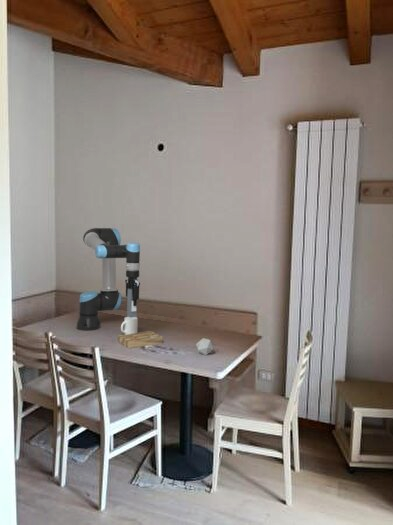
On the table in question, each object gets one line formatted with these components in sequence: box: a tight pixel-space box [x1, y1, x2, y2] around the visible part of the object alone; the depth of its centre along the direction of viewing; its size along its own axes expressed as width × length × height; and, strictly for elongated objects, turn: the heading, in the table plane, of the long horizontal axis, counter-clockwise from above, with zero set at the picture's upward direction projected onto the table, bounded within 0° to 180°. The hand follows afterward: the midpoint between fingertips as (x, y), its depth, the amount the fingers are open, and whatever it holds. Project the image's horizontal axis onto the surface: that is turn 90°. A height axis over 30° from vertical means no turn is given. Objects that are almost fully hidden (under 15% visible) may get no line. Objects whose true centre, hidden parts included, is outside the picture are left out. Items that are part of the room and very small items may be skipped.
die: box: [196, 337, 214, 356], centre depth 258 cm, size 8×9×10 cm
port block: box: [117, 330, 164, 349], centre depth 274 cm, size 14×22×4 cm, turn 126°
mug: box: [120, 316, 139, 335], centre depth 290 cm, size 12×8×10 cm
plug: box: [126, 289, 138, 318], centre depth 268 cm, size 4×4×16 cm
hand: (131, 310), depth 268 cm, fingers closed on plug, 4 cm apart
